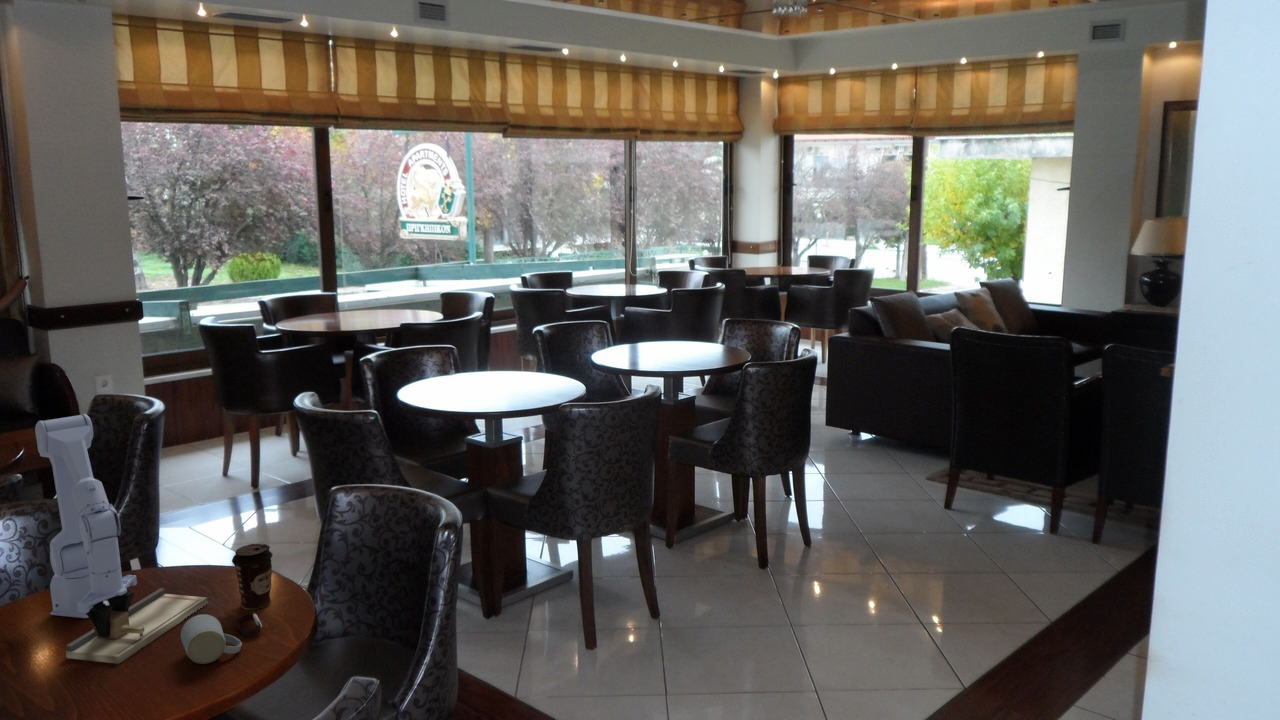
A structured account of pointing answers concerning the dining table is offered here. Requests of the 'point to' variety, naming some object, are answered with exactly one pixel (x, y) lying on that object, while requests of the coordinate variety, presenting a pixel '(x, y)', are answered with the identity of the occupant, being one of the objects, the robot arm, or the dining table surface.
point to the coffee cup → (254, 575)
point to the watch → (253, 631)
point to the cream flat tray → (149, 613)
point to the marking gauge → (121, 625)
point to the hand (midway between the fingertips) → (112, 631)
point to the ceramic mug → (207, 639)
